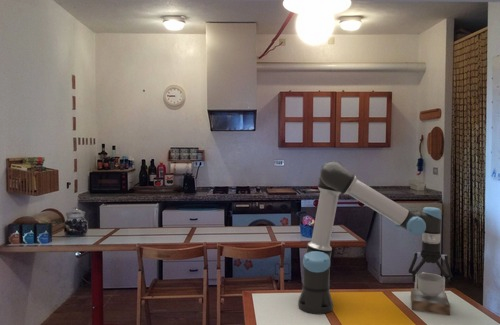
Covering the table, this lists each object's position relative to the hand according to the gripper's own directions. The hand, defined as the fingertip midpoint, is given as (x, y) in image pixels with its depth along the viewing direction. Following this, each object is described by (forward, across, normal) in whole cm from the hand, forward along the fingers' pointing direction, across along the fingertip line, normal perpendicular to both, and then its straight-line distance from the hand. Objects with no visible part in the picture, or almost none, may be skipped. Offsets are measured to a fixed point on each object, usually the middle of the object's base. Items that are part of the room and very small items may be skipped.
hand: (429, 290), depth 185 cm
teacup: (+1, 0, 0) cm, 1 cm away
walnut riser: (+7, 0, 0) cm, 7 cm away
